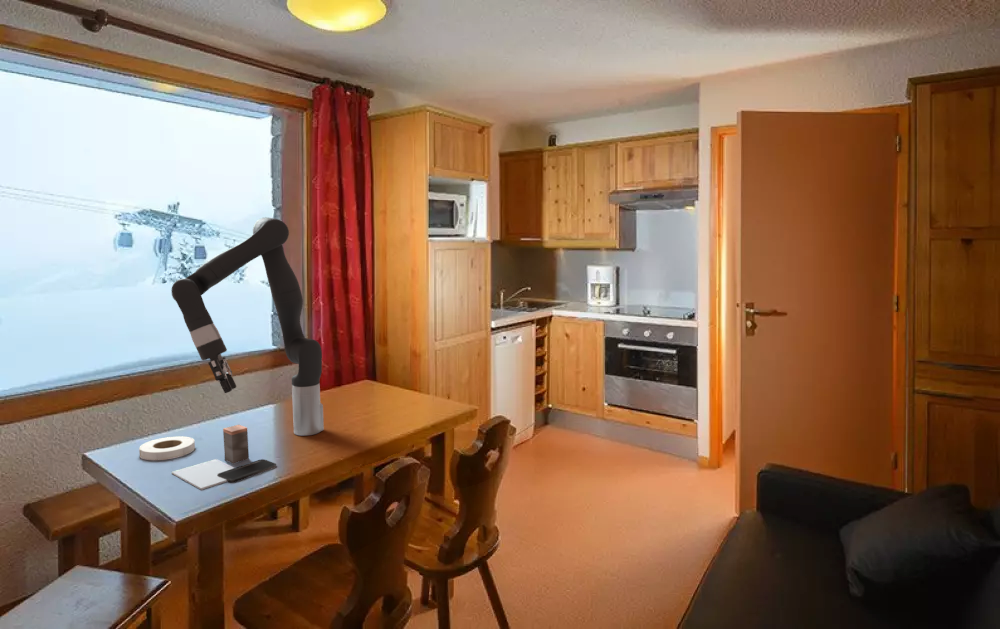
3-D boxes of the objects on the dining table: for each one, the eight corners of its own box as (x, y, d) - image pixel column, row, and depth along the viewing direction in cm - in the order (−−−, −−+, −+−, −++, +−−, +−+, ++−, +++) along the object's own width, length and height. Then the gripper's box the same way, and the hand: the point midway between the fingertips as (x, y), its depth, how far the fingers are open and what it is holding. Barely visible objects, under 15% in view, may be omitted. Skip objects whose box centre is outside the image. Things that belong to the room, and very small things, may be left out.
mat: (216, 460, 184) (216, 458, 184) (246, 475, 173) (246, 473, 173) (171, 473, 174) (171, 471, 174) (201, 489, 163) (201, 488, 163)
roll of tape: (177, 441, 203) (176, 432, 202) (205, 449, 195) (204, 441, 194) (129, 455, 189) (128, 446, 189) (157, 465, 182) (156, 455, 181)
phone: (215, 474, 172) (262, 458, 184) (215, 478, 172) (262, 462, 184) (231, 480, 167) (278, 464, 180) (231, 484, 168) (278, 467, 180)
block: (240, 455, 189) (238, 424, 188) (248, 459, 186) (247, 427, 185) (224, 459, 185) (223, 428, 184) (233, 463, 182) (231, 431, 181)
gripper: (216, 337, 176) (239, 387, 178) (224, 336, 190) (246, 382, 192) (190, 348, 174) (214, 398, 176) (200, 345, 188) (222, 392, 190)
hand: (231, 390), depth 184 cm, fingers open, 8 cm apart
